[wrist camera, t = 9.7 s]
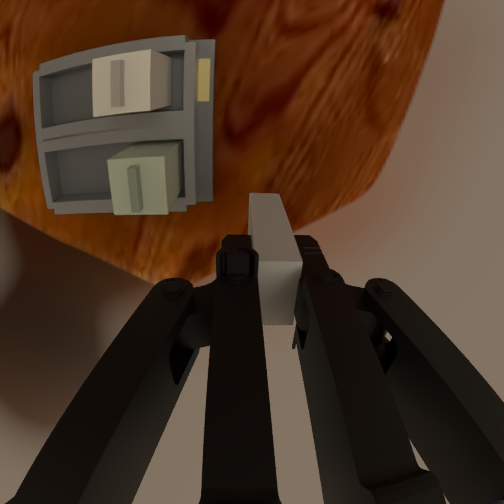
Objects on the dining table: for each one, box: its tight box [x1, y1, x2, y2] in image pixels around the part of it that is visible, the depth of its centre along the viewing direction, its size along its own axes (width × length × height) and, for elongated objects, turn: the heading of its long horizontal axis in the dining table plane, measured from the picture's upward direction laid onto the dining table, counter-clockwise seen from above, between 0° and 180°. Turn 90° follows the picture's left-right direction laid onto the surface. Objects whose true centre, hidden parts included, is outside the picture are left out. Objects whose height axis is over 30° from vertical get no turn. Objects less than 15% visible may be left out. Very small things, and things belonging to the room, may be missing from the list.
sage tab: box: [107, 140, 183, 215], centre depth 21 cm, size 4×4×7 cm
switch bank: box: [33, 35, 216, 214], centre depth 21 cm, size 14×17×3 cm
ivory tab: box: [92, 49, 172, 117], centre depth 17 cm, size 4×4×7 cm
